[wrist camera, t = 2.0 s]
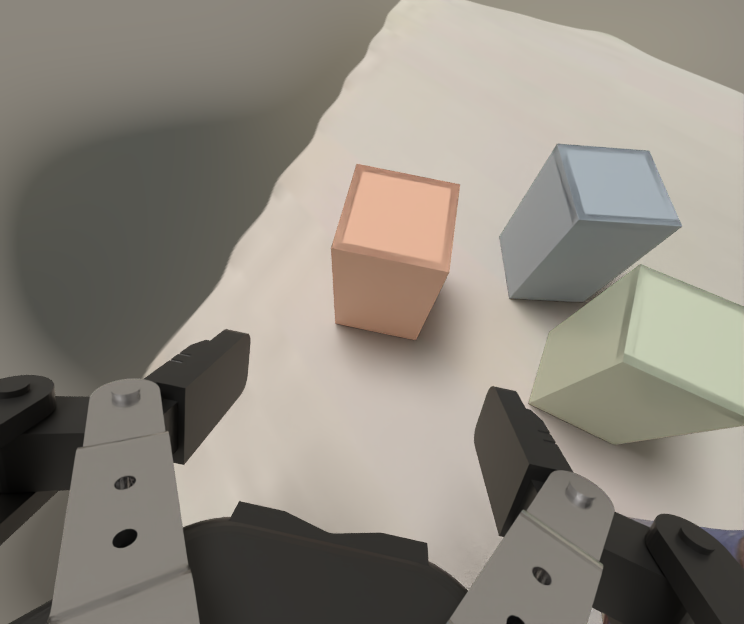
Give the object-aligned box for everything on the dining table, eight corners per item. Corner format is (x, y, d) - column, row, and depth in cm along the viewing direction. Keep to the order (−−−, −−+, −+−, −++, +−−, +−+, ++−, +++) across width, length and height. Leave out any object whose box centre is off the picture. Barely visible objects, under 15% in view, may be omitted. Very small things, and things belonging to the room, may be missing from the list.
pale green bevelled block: (627, 367, 28) (759, 312, 19) (614, 444, 26) (759, 423, 17) (549, 332, 29) (640, 264, 20) (528, 403, 27) (622, 361, 18)
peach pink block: (426, 271, 31) (460, 184, 22) (415, 340, 28) (449, 272, 19) (353, 256, 31) (356, 163, 22) (335, 323, 28) (330, 247, 19)
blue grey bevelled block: (567, 240, 33) (649, 150, 24) (583, 302, 31) (682, 226, 22) (499, 236, 33) (557, 143, 24) (509, 298, 30) (578, 219, 21)
